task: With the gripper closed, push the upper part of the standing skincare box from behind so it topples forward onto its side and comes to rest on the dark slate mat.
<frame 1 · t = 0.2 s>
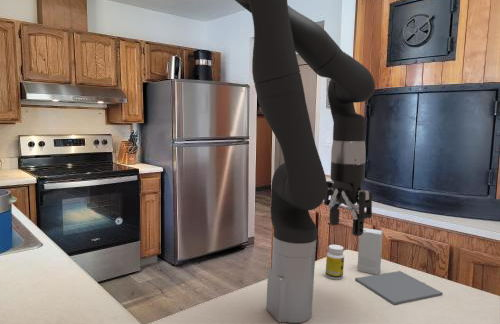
hand: (345, 229, 84), 17 cm above the counter, tool pointing down, fingers open, 8 cm apart
slate mat: (397, 287, 94), on the counter
supplement bottle: (333, 276, 100), on the counter
skincare box: (368, 271, 105), on the counter
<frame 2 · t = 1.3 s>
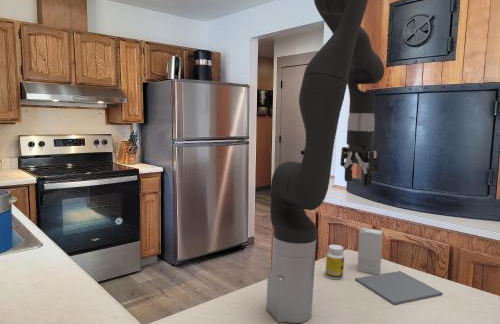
hand: (357, 183, 107), 24 cm above the counter, tool pointing down, fingers open, 8 cm apart
nothing on the counter moved.
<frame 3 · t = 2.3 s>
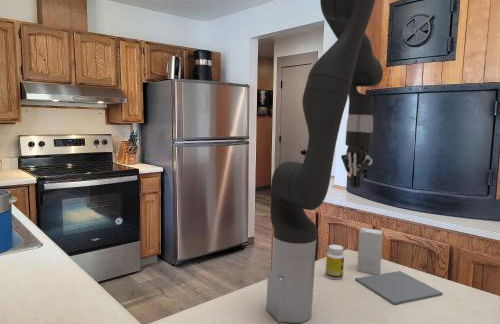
hand: (355, 187, 110), 23 cm above the counter, tool pointing down, fingers closed
nothing on the counter moved.
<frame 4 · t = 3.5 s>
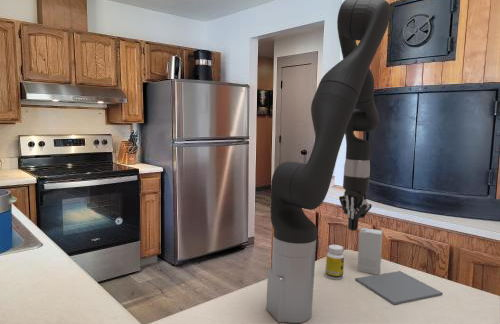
hand: (352, 229, 111), 10 cm above the counter, tool pointing down, fingers closed
nothing on the counter moved.
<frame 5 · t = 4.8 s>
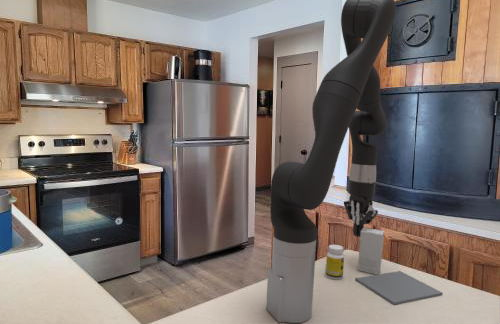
hand: (357, 235, 109), 9 cm above the counter, tool pointing down, fingers closed
skincare box: (368, 271, 105), on the counter, touching gripper
everything else where it was.
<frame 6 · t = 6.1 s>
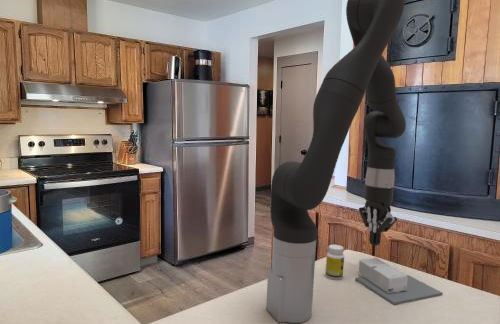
hand: (374, 244, 102), 8 cm above the counter, tool pointing down, fingers closed
skincare box: (366, 266, 101), point 3 cm above the counter, touching slate mat
everything else where it was.
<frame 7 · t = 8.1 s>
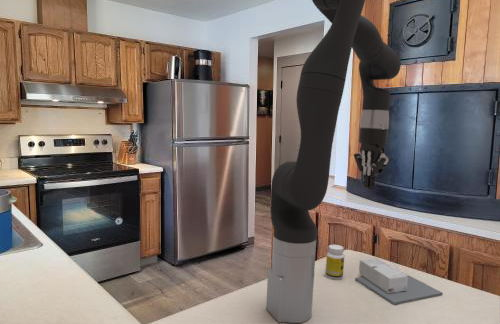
hand: (368, 188, 102), 24 cm above the counter, tool pointing down, fingers closed
nothing on the counter moved.
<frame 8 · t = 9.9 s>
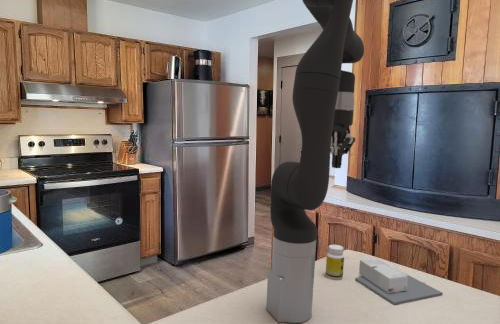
hand: (336, 167, 107), 29 cm above the counter, tool pointing down, fingers closed
nothing on the counter moved.
at the end: skincare box tilted 89°; skincare box touching slate mat; skincare box inside the target area (2.7 cm from its centre), point 2.6 cm above the counter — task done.
